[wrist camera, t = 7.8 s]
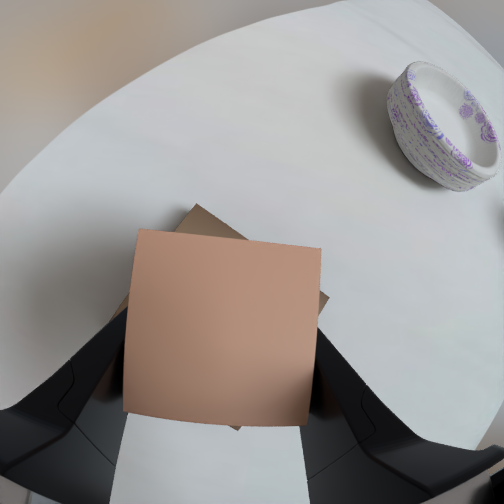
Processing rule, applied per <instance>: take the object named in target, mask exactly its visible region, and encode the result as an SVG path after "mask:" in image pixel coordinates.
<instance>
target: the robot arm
mask: <svg viewBox="0 0 504 504" xmlns="http://www.w3.org/2000/svg"><path fill="white" fill-rule="evenodd" d="M127 313H128V306H127V307H125V308H124V309H123V310H122V311H121V312H120V313H119V314H118V315H117V316H115V317H114V318H113V319H112V320H111V321H110V322H109V323H108V324H107V325H106V326H105V327H103V328H102V329H101V330H100V331H99V332H98V333H97V334H96V335H95V336H94V337H93V338H92V339H90V340H89V341H88V342H87V343H86V344H85V345H84V346H83V347H82V348H81V349H80V350H79V351H78V352H77V353H76V354H75V355H74V356H72V357H71V358H70V360H68V361H67V362H66V363H65V364H64V365H63V366H62V367H61V368H60V369H59V370H58V371H56V372H55V373H54V374H53V375H52V376H51V377H50V378H48V379H47V380H46V381H45V382H44V383H42V384H41V385H40V386H39V387H37V388H36V389H35V390H33V391H32V392H31V393H30V394H28V395H27V396H26V397H24V398H23V399H22V400H21V401H19V402H18V403H17V404H15V405H13V406H12V407H9V408H7V409H4V410H0V504H109V502H110V496H111V491H112V485H113V480H114V474H115V469H116V464H117V459H118V454H119V450H120V445H121V441H122V436H123V432H124V428H125V423H126V419H127V415H128V412H124V411H123V379H124V353H125V337H126V324H127ZM299 427H300V434H301V441H302V448H303V455H304V462H305V469H306V476H307V480H308V481H307V484H308V491H309V499H310V504H504V467H503V468H501V469H500V470H498V471H496V472H495V473H493V474H491V475H489V471H488V469H489V468H490V467H492V466H493V465H495V464H496V463H498V462H499V461H501V460H502V459H503V458H504V448H503V447H501V446H498V445H491V446H490V447H488V448H486V449H484V450H479V451H478V450H475V451H474V450H467V449H462V448H457V447H453V446H448V445H444V444H439V443H435V442H431V441H428V440H425V439H423V438H421V437H420V436H418V435H417V434H415V433H414V432H413V431H412V430H411V429H410V428H409V427H408V426H407V425H406V424H404V423H403V422H402V421H401V420H400V419H399V418H398V417H397V416H396V415H395V414H394V413H393V412H392V411H391V410H390V409H389V408H388V407H387V406H386V405H385V404H384V403H383V402H382V401H381V400H380V399H379V398H378V397H377V396H376V395H375V393H374V392H373V391H372V390H371V389H370V388H369V386H368V385H366V383H365V382H364V381H363V380H362V378H361V377H360V376H359V375H358V374H357V373H356V371H355V370H354V369H353V368H352V367H351V365H350V364H349V363H348V362H347V361H346V360H345V358H344V357H343V356H342V355H341V354H340V353H339V351H338V350H337V349H336V348H335V347H334V346H333V344H332V343H331V342H330V341H329V340H328V339H327V337H326V336H325V335H324V334H323V333H322V331H321V330H320V329H319V328H318V327H317V338H316V350H315V361H314V371H313V381H312V390H311V398H310V406H309V414H308V422H307V425H306V426H299Z"/></svg>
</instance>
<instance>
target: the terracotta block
mask: <svg viewBox="0 0 504 504" xmlns="http://www.w3.org/2000/svg"><path fill="white" fill-rule="evenodd" d="M320 273H321V249H320V248H311V247H303V246H294V245H286V244H277V243H268V242H259V241H250V240H241V239H232V238H223V237H214V236H205V235H196V234H186V233H177V232H167V231H157V230H148V229H139V232H138V238H137V244H136V250H135V256H134V263H133V270H132V277H131V285H130V294H129V303H128V313H127V324H126V337H125V353H124V379H123V411H124V412H129V413H134V414H139V415H145V416H150V417H156V418H163V419H170V420H177V421H185V422H194V423H204V424H216V425H231V426H306V425H307V422H308V414H309V406H310V398H311V390H312V381H313V371H314V361H315V350H316V338H317V325H318V311H319V294H320Z"/></svg>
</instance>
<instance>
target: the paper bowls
mask: <svg viewBox="0 0 504 504" xmlns="http://www.w3.org/2000/svg"><path fill="white" fill-rule="evenodd" d="M387 109H388V114H389V117H390V120H391V123H392V125H393V130H394V134H395V137H396V140H397V142H398V144H399V146H400V148H401V150H402V151H403V153H404V154H405V156H406V157H407V159H408V160H409V161H410V162H411V163H412V164H413V165H414V166H415V167H416V168H417V169H418V170H419V171H420V172H422V173H423V174H425V175H426V176H428V177H430V178H432V179H433V180H435V181H436V182H438V183H439V184H441V185H442V186H444V187H446V188H448V189H450V190H453V191H457V192H463V191H468V190H470V189H472V188H474V187H476V186H478V185H480V184H481V183H483V182H485V181H486V180H489V179H490V178H492V177H494V176H495V175H496V174H497V173H498V171H499V169H500V166H501V150H500V145H499V141H498V138H497V135H496V133H495V130H494V128H493V126H492V124H491V122H490V120H489V118H488V116H487V115H486V113H485V111H484V110H483V108H482V107H481V105H480V104H479V102H478V101H477V100H476V99H475V97H474V96H473V95H472V94H471V93H470V92H469V91H468V90H467V88H466V87H465V86H464V85H463V84H461V83H460V82H459V81H458V80H457V79H456V78H455V77H453V76H452V75H451V74H449V73H448V72H446V71H445V70H443V69H441V68H440V67H438V66H435V65H433V64H430V63H427V62H414V63H412V64H410V65H408V66H407V67H406V69H405V71H404V72H403V73H402V74H401V75H400V76H399V77H398V78H397V80H396V81H395V83H394V84H393V85H392V87H391V88H390V90H389V92H388V95H387Z"/></svg>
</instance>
